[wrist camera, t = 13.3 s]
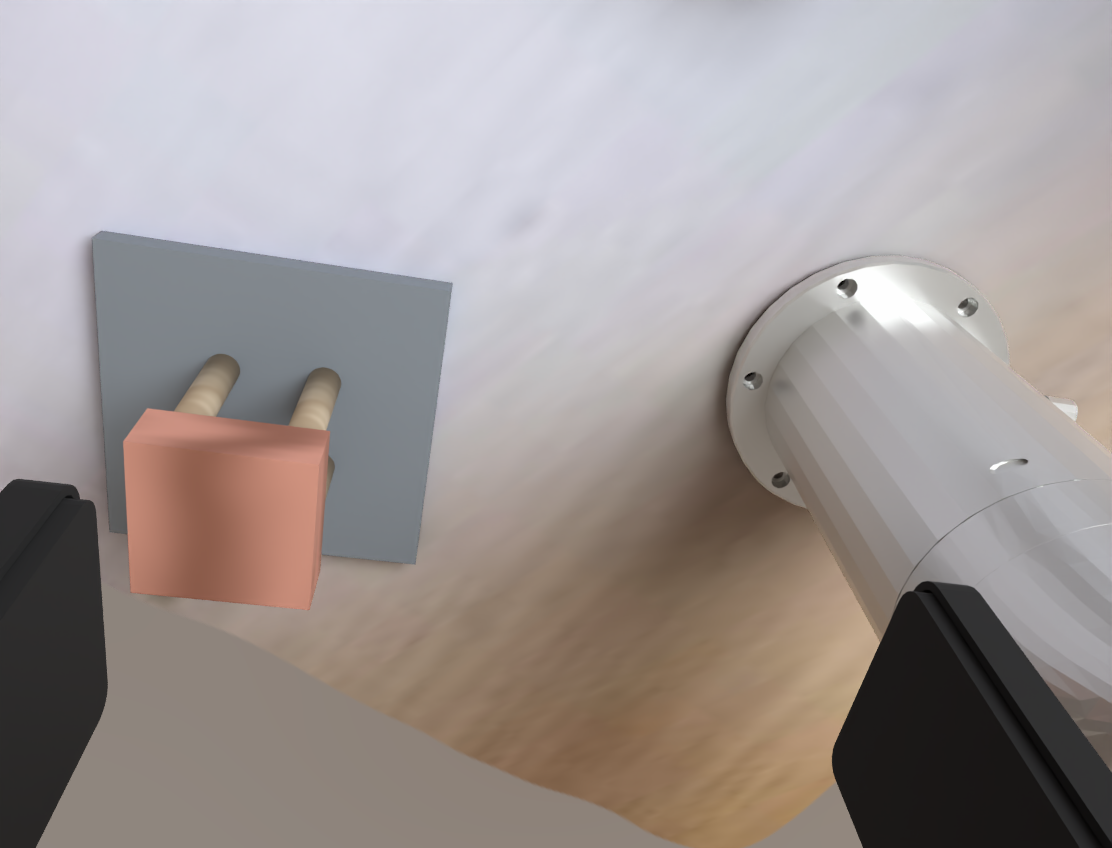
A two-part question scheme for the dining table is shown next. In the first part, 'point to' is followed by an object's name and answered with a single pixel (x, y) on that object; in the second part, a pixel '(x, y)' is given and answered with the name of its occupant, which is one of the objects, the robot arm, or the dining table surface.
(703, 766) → the dining table surface
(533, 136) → the dining table surface
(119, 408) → the slate mat
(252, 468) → the stool
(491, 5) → the dining table surface
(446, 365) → the dining table surface
